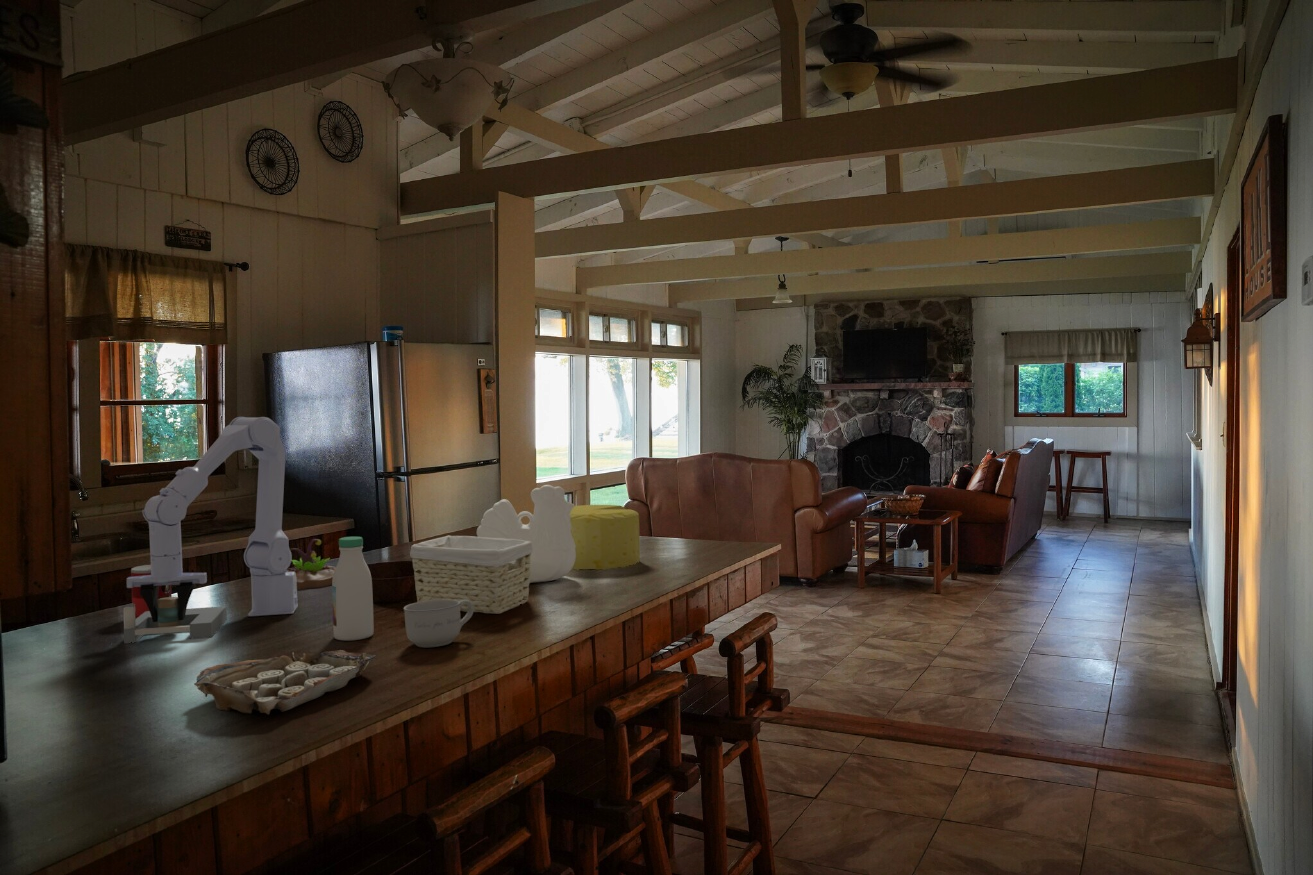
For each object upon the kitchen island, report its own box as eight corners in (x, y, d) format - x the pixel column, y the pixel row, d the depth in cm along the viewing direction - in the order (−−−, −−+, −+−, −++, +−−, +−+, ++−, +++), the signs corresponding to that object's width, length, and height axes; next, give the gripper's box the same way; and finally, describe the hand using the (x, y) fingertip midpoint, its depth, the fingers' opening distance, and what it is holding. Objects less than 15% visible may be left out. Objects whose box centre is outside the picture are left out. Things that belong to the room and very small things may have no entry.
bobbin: (183, 624, 195) (182, 596, 195) (178, 629, 191) (177, 600, 191) (160, 626, 194) (159, 597, 194) (154, 631, 190) (153, 601, 190)
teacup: (411, 654, 175) (410, 612, 175) (399, 641, 185) (397, 601, 184) (484, 644, 181) (483, 603, 181) (468, 632, 191) (467, 593, 191)
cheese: (654, 556, 275) (654, 505, 274) (614, 572, 251) (613, 517, 250) (576, 551, 285) (575, 502, 285) (531, 566, 262) (529, 513, 261)
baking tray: (298, 663, 173) (297, 634, 173) (398, 671, 166) (397, 641, 165) (164, 716, 144) (162, 681, 144) (278, 728, 137) (277, 692, 137)
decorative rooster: (584, 575, 247) (582, 481, 246) (563, 588, 232) (561, 488, 231) (496, 572, 254) (494, 480, 252) (470, 584, 238) (468, 487, 237)
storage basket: (537, 601, 218) (535, 538, 217) (500, 617, 203) (498, 550, 202) (450, 594, 227) (448, 534, 226) (408, 609, 212) (406, 544, 211)
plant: (363, 581, 246) (362, 539, 245) (289, 593, 232) (287, 548, 232) (330, 571, 260) (329, 531, 259) (258, 582, 247) (257, 540, 246)
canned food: (156, 620, 204) (153, 570, 204) (124, 619, 206) (122, 570, 205) (180, 612, 212) (178, 564, 211) (149, 611, 213) (147, 563, 213)
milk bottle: (381, 633, 191) (378, 535, 190) (357, 642, 184) (354, 541, 183) (349, 630, 194) (346, 534, 193) (325, 640, 186) (321, 540, 185)
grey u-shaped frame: (226, 619, 204) (225, 588, 204) (211, 637, 189) (209, 603, 189) (146, 625, 200) (144, 592, 200) (123, 644, 185) (121, 609, 185)
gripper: (120, 559, 186) (123, 627, 187) (200, 555, 189) (202, 621, 190) (131, 553, 193) (134, 619, 193) (208, 549, 196) (210, 614, 197)
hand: (168, 620), depth 192 cm, fingers closed on bobbin, 4 cm apart
